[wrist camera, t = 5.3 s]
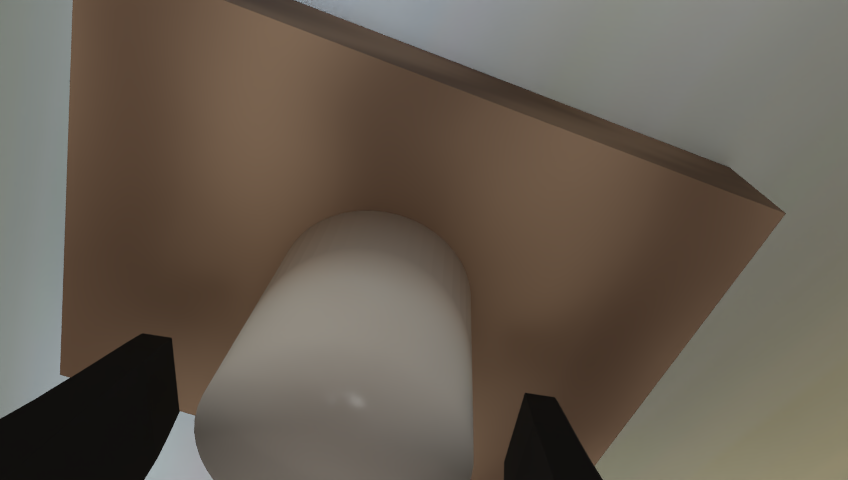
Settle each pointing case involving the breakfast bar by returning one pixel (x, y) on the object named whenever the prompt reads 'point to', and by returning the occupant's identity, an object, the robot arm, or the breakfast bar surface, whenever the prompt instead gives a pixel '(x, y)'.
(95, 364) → the robot arm
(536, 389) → the walnut block
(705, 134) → the breakfast bar surface
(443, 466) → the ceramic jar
